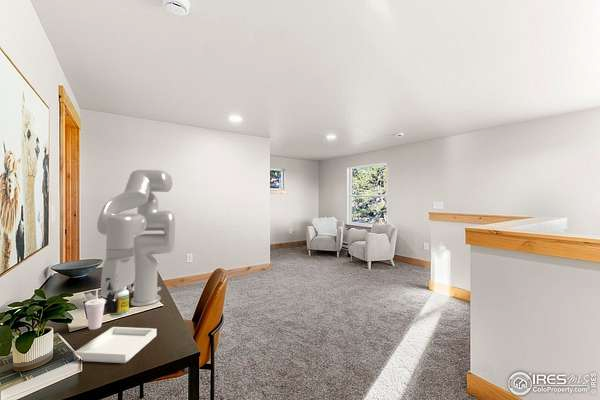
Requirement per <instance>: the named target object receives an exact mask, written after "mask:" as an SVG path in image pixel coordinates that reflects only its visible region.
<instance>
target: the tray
mask: <svg viewBox="0 0 600 400" xmlns="http://www.w3.org/2000/svg"><path fill="white" fill-rule="evenodd" d="M157 334H158V333H157V328H149V327H128V326H127V327H125V326H124V327H123V326H122V327H121V326H112V327H110V328H108V330H106V331H104V332H103V333H101V334H100V335H98V336H97V337H95V338H93V339H92V340H89V342H87V343H86V344H84V345H83V346H81V347H80V348H78V349H77V350H74V352H75V353H76V354H77V355H79V356H80V357H81V358H82V360H83V361H82V362H97V363H99V362H100V363H116V364H117V363H118V364H126V363H127V362H129V361H130V360H131V359H132V358H133V357H134V356H136V354H138V353H139V352H140V351H141V350H142V349H143V348H144V347H145V346H147V345H148V344H149V343H150V342H151V341H152V340H154V339H155V337H157Z"/></svg>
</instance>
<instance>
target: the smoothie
mask: <svg viewBox="0 0 600 400" xmlns="http://www.w3.org/2000/svg"><path fill="white" fill-rule="evenodd" d="M98 292H99V290H98V289H96V290H95V298H94V299H93V298H92V299H90V300H87V301H85V303H84V307H85V312H86V318H87V327H88V329H89V330H91V331H92V330H97V329H99V328H101V327H102V321H103V318H104V317H103V316H104V311H105V304H107V301H106V300H105V298H99V297H98Z"/></svg>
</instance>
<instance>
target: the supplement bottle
mask: <svg viewBox="0 0 600 400" xmlns="http://www.w3.org/2000/svg"><path fill="white" fill-rule="evenodd" d="M126 288H127V286H126V287H124V288H122V289H121V290H118V294H117V299H116V300H118V312H117V313H108V314H109V316H110V317H111V318H120V317H121V318H122V317H123V316H126V315H128V314H129V311H130V305H129V291H128V290H126ZM111 290H113V288H112V289H111ZM113 294H114V292H111V295H112V296H113Z"/></svg>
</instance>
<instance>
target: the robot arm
mask: <svg viewBox="0 0 600 400" xmlns="http://www.w3.org/2000/svg"><path fill="white" fill-rule="evenodd" d="M172 187H173V179H172V177H171V175H170V174H169V173H168V172H166V171H163V170H157V169H156V170H155V169H136V170H133V171H132V172H131V173H130V174H129V178H128V180H127V182H126V186H125V189H124V191H123V192H122V193H120V194H118V195H116V196H114V197H113V198H111V199H110V200H109V201H107V202H105V205H103V207H102V209H101V211H100V214H99V216H98V219H97V225H96V226H97V227H96V228H97V231H98V232H99V234H101V235H104V236H106V241H105V244H106V245H105V246H106V247H105V248H106V249H105V259H104V262H103V265H102V271H101V277H100V293H99V295H100V296H101V297H102V298H103V299H105V300H106V314H109V313H117V312H118V300H116V299H117V294H118V290H121V289H122V288H124V287H126V286H127V288H126V290H128V291H129V306H134V307H142V306H143V307H144V306H149V305H153V304H156V303H158V302H159V301H160V300H161V299H162V298H161V295H160V294H158V293H159V291H161V290H162V287H161V286H158V267H159V266H158V261H157V259H156V258H155V257H154V255H160V254H161V255H165V254H171V253H172V252H173V251H174V249H175V235H176V234H175V229H176V227H175V226H176V220H175V214H174V213H173V212H172V211H170V210H159V200H158V197H157V195H155V194H154V192H156V193H157V192H158V193H161V192H162V193H163V192H164V193H167V192H168V193H169V192H170V190H171V189H172ZM135 208H137V213H126V212H125V211H129V210H132V209H133V210H134V209H135ZM123 212H125V213H123ZM144 231H145V232H146V231H147V232H152V231H153V232H155V231H157V232H158V231H159V232H160V231H161V232H163V233H143V232H144ZM112 288H113V290H112ZM111 292H114V294H113V296H112V295H111ZM132 293H133V297H132Z"/></svg>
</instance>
